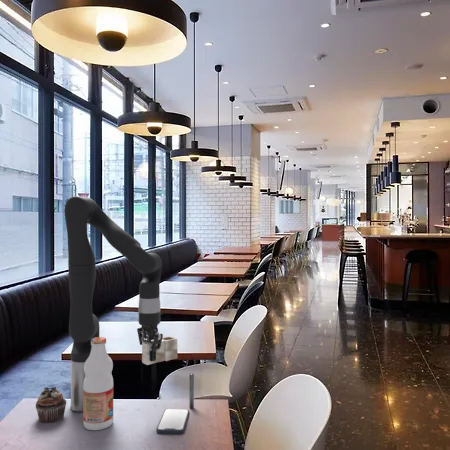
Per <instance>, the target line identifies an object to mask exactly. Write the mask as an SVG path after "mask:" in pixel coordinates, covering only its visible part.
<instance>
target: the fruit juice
mask: <svg viewBox="0 0 450 450" xmlns="http://www.w3.org/2000/svg"><path fill="white" fill-rule="evenodd" d="M106 344H107V338H106V337H104V336H99V337H96V338H92V339H91V345H92V348H91V352H90V355H89V357H88V359H87V360H86V361H85V364H84V372H85V379H84V384H83V412H82V413H83V414H82V415H83V416H82V418H83V419H82V420H83V422H82V423H83V427H84V428H85V429H86V430H89V431H101V430H104V429H106V428H107V429H108V428H109V427H111V426H112V424H113V422H114V378H113V375H112V371H113V367H114V363H113V360H112V358H111V357H110V356H109V354H108V352H107V348H106Z"/></svg>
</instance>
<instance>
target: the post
mask: <svg viewBox="0 0 450 450" xmlns="http://www.w3.org/2000/svg"><path fill="white" fill-rule="evenodd" d="M188 378H189V381H188V383H189V384H188V385H189V388H188V389H189V391H188V393H189V395H188V397H189V399H188V400H189V402H188V403H189V404H188V405H189V406H188V407H189V409H194V408H195V374H194V373H193V372H191V373H189V376H188Z"/></svg>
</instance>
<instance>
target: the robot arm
mask: <svg viewBox="0 0 450 450" xmlns="http://www.w3.org/2000/svg"><path fill="white" fill-rule="evenodd" d="M64 204H65V205H64V219H65V226H66V227H65V228H66V235H67V254H68V259H67V263H68V264H67V265H68V266H67V267H68V269H67V271H68V272H67V273H68V288H69V298H70V299H69V300H70V301H69V302H70V306H69V308H70V309H69V321H68V333H69V335H70V338H71V339H72V341H73V342H72V349H71V352H70V409H71V410H72V411H74V412H82V413H83V384H84V379H85V372H84V364H85V361H86V360H87V359H88V357H89V355H90V352H91V348H92V345H91V339H92V338H96V337H100V322H99V319H98V317H97V316H96V314H94V313H93V297H94V290H95V285H96V279H97V275H96V274H97V270H96V267H97V266H96V256H95V252H94V250H93V247H92V246H91V244H90V243H91V242H90V241H89V235H88V225H90V226H91V227H93V228H95V229H96V230H98V231H99V233H101V235H103V237H104V238H105V239H106V241H107V242H108V243H109V244H110V246H111V247H112V248H114V249H115V250H116V251H117V252H118V253H120V254H121V255H122V256H123V257H125V258H126V259H127V260H128V262H129V263H130V264H131V265H132V266H133V267H134V269H136V270H137V271H138V272H139V273H141V274H142V279H141V281H140V283H139V285H138V287H139V288H138V292H139V293H138V324H139V325H140V326H141V327H138V328H137V329H136V332H137V336H138V342H139V345H140V346H142V343H143V342H147V343H148V344H149V349H150V361H151V362H152V361H155V360H156V350H157V349H160V346H161V342H162V338H163V337H164V335H163V333H159V328H158V325H160V324H161V300H160V298H161V297H160V295H161V294H160V293H161V292H160V282H161V277H162V271H163V269H162V268H163V261H162V259H161V257H160V255H159V254H157V253H156V252H147V251H146V250H145V249H144V248H143V247H142V246H141V243H140V242H139V241H138V240H137V239H136V238H134V237H133V236H132V235H131V234H130V233H128V232H127V231H126V230H125V229H123V228H122V227H121V226H119V225H118V224H117V223H116V222H115V221H114V220H113V219H112V218H111V217H109V215H107V214H106V212H105V211H104V210H103V209H102V208H101V207H100V205H98V204H97V203H96V201H95V200H93V199H92V198H90V197H87V196H78V195H74V196H71V197H69V198H68V200H67V201H66V202H65V203H64ZM152 340H154V341H152ZM152 343H153V346H152ZM157 344H158V345H157Z"/></svg>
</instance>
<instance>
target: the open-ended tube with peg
mask: <svg viewBox="0 0 450 450" xmlns="http://www.w3.org/2000/svg"><path fill="white" fill-rule="evenodd" d="M151 341H154V340H151ZM157 345H158V344H157ZM152 346H153V343H152ZM175 359H178V338H176V337H173V336H171V335H169V336H163V338H162V342H161V346H160V349H157V350H156V360H155V361H152V362H151V361H150V349H149V344H148V343H147V342H143V343H142V345H141V362H142V364H144V365H146V366H149V365H152V364H157V363H160V362H164V361H165V362H168V361H171V360H175Z"/></svg>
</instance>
